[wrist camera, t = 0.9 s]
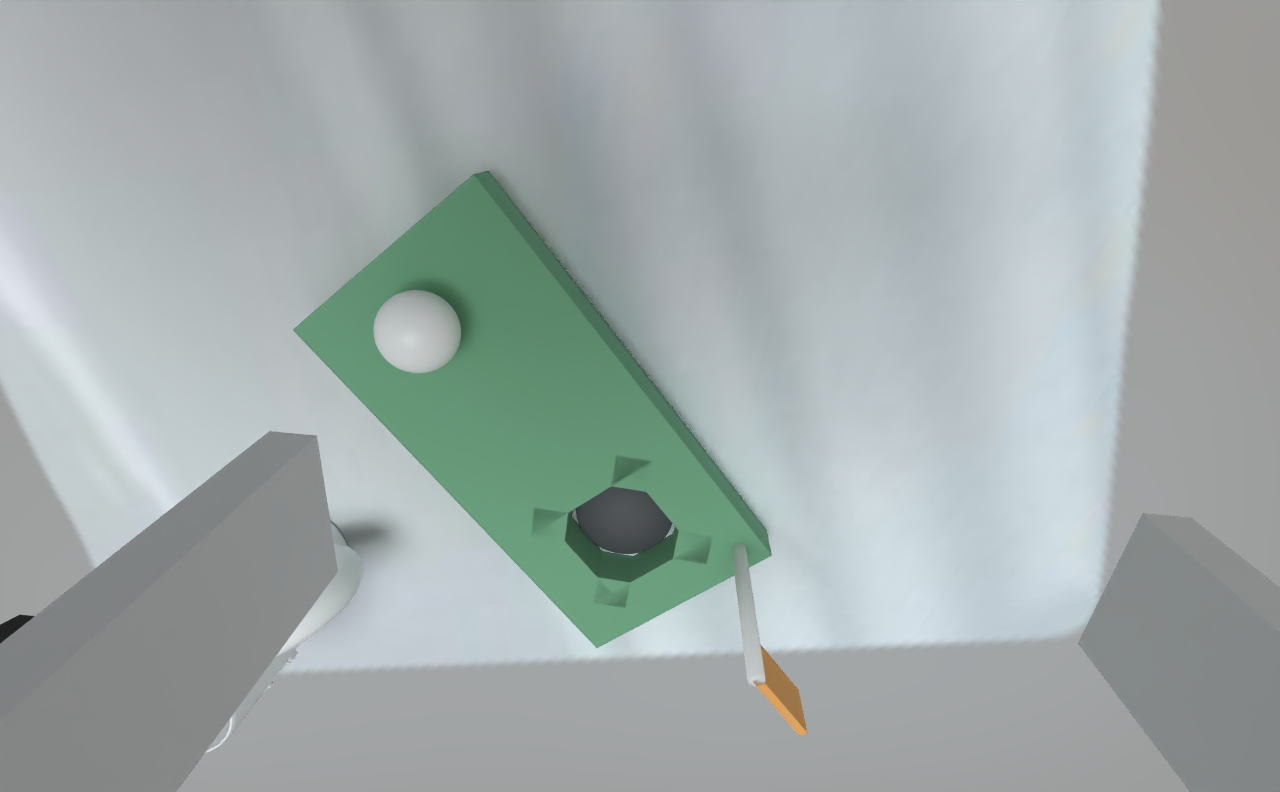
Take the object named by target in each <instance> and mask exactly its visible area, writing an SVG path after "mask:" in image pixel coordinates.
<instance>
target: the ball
mask: <svg viewBox="0 0 1280 792" xmlns="http://www.w3.org/2000/svg"><path fill="white" fill-rule="evenodd" d="M373 332H374V339H375V343H376V346H377V348H378V350H379V352H380V353H381V355H382V356H383V357H384V358H385V359H386V360H387V361H388V362H389V363H390V364H392V365H393V366H395V367H396V368H398V369H400V370H403V371H406V372H411V373H427V372H431V371H434V370H437V369H439V368H441V367H442V366H444V365H445V364H447V363H448V362H449V361H450V360H451V359H452V357H453V356H454V355H455V353H456V352H457V350H458V347H459V344H460V340H461V326H460V322H459V319H458V316H457V314H456V312H455V311H454V309H453V308H452V307H451V306H450V304H449V303H448V302H446V301H445V300H444V299H443V298H441V297H440V296H438V295H436V294H434V293H431V292H427V291H423V290H409V291H404V292H401V293H398V294H396V295H394V296H392V297H391V298H390V299H388V300H387V301H386V302H385V303H384V304H383V305H382V307H381V308H380V309H379V311H378V313H377V315H376V318H375V321H374V327H373Z"/></svg>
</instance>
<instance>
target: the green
mask: <svg viewBox="0 0 1280 792" xmlns="http://www.w3.org/2000/svg"><path fill="white" fill-rule="evenodd" d="M409 290H423V291H427V292H431V293H434V294H436V295H438V296H440V297H441V298H443V299H444V300H445V301H446V302H448V303H449V304H450V306H451V307H452V308H453V309H454V311H455V312H456V314H457V316H458V319H459V322H460V326H461V340H460V344H459V347H458V350H457V352H456V353H455V355H454V356H453V357H452V359H451V360H450V361H449V362H448V363H447V364H445V365H444V366H442V367H441V368H439V369H437V370H434V371H431V372H427V373H411V372H406V371H403V370H400V369H398V368H396V367H395V366H393V365H392V364H390V363H389V362H388V361H387V360H386V359H385V358H384V357H383V356H382V355H381V353H380V352H379V350H378V348H377V346H376V343H375V339H374V332H373V327H374V321H375V318H376V315H377V313H378V311H379V309H380V308H381V307H382V305H383V304H384V303H385V302H386V301H387V300H388V299H390V298H391V297H392V296H394V295H396V294H398V293H401V292H404V291H409ZM293 330H294V332H295V333H296V334H297V335H298V336H299V337H300V338H301V339H302V340H303V341H304V342H305V343H306V344H307V345H308V346H309V347H310V348H311V349H312V350H313V351H314V352H315V354H316V355H317V356H318V357H319V358H320V359H321V360H322V361H323V362H324V363H325V364H326V365H327V366H328V367H329V368H330V369H331V370H332V371H333V372H334V373H335V374H336V375H337V377H338V378H339V379H340V380H341V381H342V382H343V383H344V384H345V385H346V386H347V387H348V388H349V389H350V390H351V391H352V392H353V393H354V394H355V395H356V396H357V397H358V399H359V400H360V401H361V402H362V403H363V404H364V405H365V406H366V407H367V408H368V409H369V410H370V411H371V412H372V413H373V414H374V415H375V416H376V417H377V418H378V419H379V421H380V422H381V423H382V424H383V425H384V426H385V427H386V428H387V429H388V430H389V431H390V432H391V433H392V434H393V435H394V436H395V437H396V438H397V439H398V440H399V441H400V443H401V444H402V445H403V446H404V447H405V448H406V449H407V450H408V451H409V452H410V453H411V454H412V455H413V456H414V457H415V458H416V459H417V460H418V461H419V462H420V463H421V464H422V466H423V467H424V468H425V469H426V470H427V471H428V472H429V473H430V474H431V475H432V476H433V477H434V478H435V479H436V480H437V481H438V482H439V483H440V484H441V485H442V486H443V488H444V489H445V490H446V491H447V492H448V493H449V494H450V495H451V496H452V497H453V498H454V499H455V500H456V501H457V502H458V503H459V504H460V505H461V506H462V507H463V508H464V510H465V511H466V512H467V513H468V514H469V515H470V516H471V517H472V518H473V519H474V520H475V521H476V522H477V523H478V524H479V525H480V526H481V527H482V528H483V529H484V530H485V532H486V533H487V534H488V535H489V536H490V537H491V538H492V539H493V540H494V541H495V542H496V543H497V544H498V545H499V546H500V547H501V548H502V549H503V550H504V551H505V552H506V554H507V555H508V556H509V557H510V558H511V559H512V560H513V561H514V562H515V563H516V564H517V565H518V566H519V567H520V568H521V569H522V570H523V571H524V572H525V573H526V574H527V575H528V577H529V578H530V579H531V580H532V581H533V582H534V583H535V584H536V585H537V586H538V587H539V588H540V589H541V590H542V591H543V592H544V593H545V594H546V595H547V596H548V597H549V599H550V600H551V601H552V602H553V603H554V604H555V605H556V606H557V607H558V608H559V609H560V610H561V611H562V612H563V613H564V614H565V615H566V616H567V617H568V618H569V619H570V621H571V622H572V623H573V624H574V625H575V626H576V627H577V628H578V629H579V630H580V631H581V632H582V633H583V634H584V635H585V636H586V637H587V638H588V639H589V640H590V641H591V643H592V644H593V645H594V646H595V647H596V648H598V647H600V646H602V645H604V644H606V643H608V642H610V641H611V640H613V639H615V638H617V637H619V636H621V635H623V634H625V633H626V632H628V631H630V630H632V629H634V628H636V627H638V626H640V625H642V624H643V623H645V622H647V621H649V620H651V619H653V618H655V617H657V616H659V615H660V614H662V613H664V612H666V611H668V610H670V609H672V608H674V607H675V606H677V605H679V604H681V603H683V602H685V601H687V600H689V599H691V598H692V597H694V596H696V595H698V594H700V593H702V592H704V591H706V590H708V589H709V588H711V587H713V586H715V585H717V584H719V583H721V582H723V581H724V580H726V579H728V578H730V577H732V576H734V575H735V580H736V589H737V597H738V606H739V614H740V623H741V631H742V640H743V648H744V657H745V665H746V674H747V681H748V683H749V684H750V685H752V686H757V687H758V688H759V690H760V691H761V692H762V693H763V694H764V695H765V696H766V698H767V699H768V700H769V701H770V702H771V703H772V705H773V706H774V707H775V708H776V709H777V710H778V712H779V713H780V714H781V715H782V716H783V717H784V718H785V720H786V721H787V722H788V723H789V724H790V725H791V726H792V728H793V729H794V730H795V731H796V732H797V733H798V734H799V736H801V735H803V734H805V733H807V729H806V724H805V719H804V715H803V710H802V705H801V700H800V696H799V690H798V689H797V687H796V686H795V685H794V684H793V683H792V682H791V680H790V679H789V678H788V677H787V676H786V674H785V673H784V672H783V671H782V670H781V668H780V667H779V666H778V665H777V664H776V663H775V661H774V660H773V659H772V658H771V657H770V655H769V654H768V653H767V652H766V651H765V649H764V648H763V647H762V646H761V645H760V639H759V633H758V626H757V620H756V613H755V606H754V600H753V593H752V586H751V580H750V573H749V567H751V566H753V565H755V564H757V563H758V562H760V561H762V560H764V559H766V558H768V557H770V556H772V554H771V550H770V545H769V540H768V535H767V530H766V529H765V528H764V526H763V525H762V524H761V523H760V521H759V520H758V519H757V517H756V516H755V515H754V513H753V512H752V511H751V510H750V508H749V507H748V506H747V504H746V503H745V502H744V501H743V499H742V498H741V497H740V495H739V494H738V493H737V491H736V490H735V489H734V488H733V486H732V485H731V484H730V482H729V481H728V480H727V479H726V477H725V476H724V475H723V473H722V472H721V471H720V470H719V468H718V467H717V466H716V464H715V463H714V462H713V460H712V459H711V458H710V457H709V455H708V454H707V453H706V451H705V450H704V449H703V448H702V446H701V445H700V444H699V442H698V441H697V440H696V438H695V437H694V436H693V435H692V433H691V432H690V431H689V429H688V428H687V427H686V426H685V424H684V423H683V422H682V420H681V419H680V418H679V416H678V415H677V414H676V413H675V411H674V410H673V409H672V407H671V406H670V405H669V404H668V402H667V401H666V400H665V398H664V397H663V396H662V395H661V393H660V392H659V391H658V389H657V388H656V387H655V385H654V384H653V383H652V382H651V380H650V379H649V378H648V376H647V375H646V374H645V373H644V371H643V370H642V369H641V367H640V366H639V365H638V363H637V362H636V361H635V360H634V358H633V357H632V356H631V354H630V353H629V352H628V351H627V349H626V348H625V347H624V345H623V344H622V343H621V341H620V340H619V339H618V338H617V336H616V335H615V334H614V332H613V331H612V330H611V329H610V327H609V326H608V325H607V323H606V322H605V321H604V320H603V318H602V317H601V316H600V314H599V313H598V312H597V310H596V309H595V308H594V307H593V305H592V304H591V303H590V301H589V300H588V299H587V298H586V296H585V295H584V294H583V292H582V291H581V290H580V288H579V287H578V286H577V285H576V283H575V282H574V281H573V279H572V278H571V277H570V276H569V274H568V273H567V272H566V270H565V269H564V268H563V266H562V265H561V264H560V263H559V261H558V260H557V259H556V257H555V256H554V255H553V254H552V252H551V251H550V250H549V248H548V247H547V246H546V245H545V243H544V242H543V241H542V239H541V238H540V237H539V235H538V234H537V233H536V232H535V230H534V229H533V228H532V226H531V225H530V224H529V223H528V221H527V220H526V219H525V217H524V216H523V215H522V213H521V212H520V211H519V210H518V208H517V207H516V206H515V204H514V203H513V202H512V201H511V199H510V198H509V197H508V195H507V194H506V193H505V191H504V190H503V189H502V188H501V186H500V185H499V184H498V182H497V181H496V180H495V179H494V177H493V176H492V175H491V173H490V172H489V171H487V172H483V173H478V174H473V175H472V176H471V177H470V178H469V179H468V180H467V181H465V182H464V183H463V184H462V185H461V186H460V187H458V188H457V189H456V190H455V191H454V192H453V193H451V194H450V195H449V196H448V197H447V198H446V199H444V200H443V201H442V202H441V203H440V204H439V205H437V206H436V207H435V208H434V209H433V210H432V211H430V212H429V213H428V214H427V215H426V216H425V217H423V218H422V219H421V220H420V221H419V222H418V223H416V224H415V225H414V226H413V227H412V228H411V229H410V230H408V231H407V232H406V233H405V234H404V235H403V236H401V237H400V238H399V239H398V240H397V241H396V242H394V243H393V244H392V245H391V246H390V247H389V248H387V249H386V250H385V251H384V252H383V253H382V254H380V255H379V256H378V257H377V258H376V259H375V260H373V261H372V262H371V263H370V264H369V265H368V266H366V267H365V268H364V269H363V270H362V271H361V272H360V273H358V274H357V275H356V276H355V277H354V278H353V279H351V280H350V281H349V282H348V283H347V284H346V285H344V286H343V287H342V288H341V289H340V290H339V291H337V292H336V293H335V294H334V295H333V296H332V297H330V298H329V299H328V300H327V301H326V302H325V303H323V304H322V305H321V306H320V307H319V308H318V309H316V310H315V311H314V312H313V313H312V314H311V315H309V316H308V317H307V318H306V319H305V320H304V321H303V322H301V323H300V324H299V325H298V326H297V327H296V328H294V329H293ZM575 508H576V514H577V519H578V523H579V525H580V526H579V525H578V524H577V523H576V522H575V520H574V519H573V518H572V510H574V509H575ZM672 523H673V525H674V526H675V529H674V534H672V535H670V536H669V537H667V538H665V537H666V535H667V534H668V532H669V530H670V528H671V525H672ZM664 538H665V539H664ZM597 545H598V546H599V547H601V548H603V549H605V550H608V551H611V552H615V553H621V554H633V553H639V552H641V553H639V554H637V555H635V556H634V557H632V556H625V555H619V554H613V553H607V552H602V551H601V550H600V549H599V547H598V546H597Z"/></svg>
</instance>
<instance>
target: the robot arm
mask: <svg viewBox="0 0 1280 792" xmlns="http://www.w3.org/2000/svg"><path fill="white" fill-rule="evenodd" d="M337 572H338V568H337V562H336V555H335V549H334V543H333V536H332V530H331V523H330V517H329V511H328V504H327V498H326V492H325V485H324V479H323V472H322V466H321V460H320V453H319V447H318V441H317V436H314V435H304V434H293V433H282V432H272V431H269V432H268V433H267V434H266V435H264V436H263V437H262V438H260V439H259V440H258V441H257V442H255V443H254V444H253V445H252V446H250V447H249V448H248V449H247V450H245V451H244V452H243V453H241V454H240V455H239V456H238V457H236V458H235V459H234V460H233V461H231V462H230V463H229V464H227V465H226V466H225V467H224V468H222V469H221V470H220V471H219V472H217V473H216V474H215V475H214V476H212V477H211V478H210V479H208V480H207V481H206V482H205V483H203V484H202V485H201V486H200V487H198V488H197V489H196V490H194V491H193V492H192V493H191V494H189V495H188V496H187V497H186V498H184V499H183V500H182V501H181V502H179V503H178V504H177V505H175V506H174V507H173V508H172V509H170V510H169V511H168V512H167V513H165V514H164V515H163V516H161V517H160V518H159V519H158V520H156V521H155V522H154V523H153V524H151V525H150V526H149V527H148V528H146V529H145V530H144V531H142V532H141V533H140V534H139V535H137V536H136V537H135V538H134V539H132V540H131V541H130V542H129V543H127V544H126V545H125V546H123V547H122V548H121V549H120V550H118V551H117V552H116V553H115V554H113V555H112V556H111V557H109V558H108V559H107V560H106V561H104V562H103V563H102V564H101V565H99V566H98V567H97V568H96V569H94V570H93V571H92V572H90V573H89V574H88V575H87V576H85V577H84V578H83V579H82V580H80V581H79V582H78V583H77V584H75V585H74V586H73V587H71V588H70V589H69V590H68V591H66V592H65V593H64V594H63V595H61V596H60V597H59V598H58V599H56V600H55V601H54V602H52V603H51V604H50V605H49V606H47V607H46V608H45V609H43V610H42V611H41V612H40V613H39V614H37V615H36V616H27V615H18V616H16V617H15V618H12V619H11V620H9V621H7V622H5V623H3V624H1V625H0V792H177V790H178V789H179V788H180V786H181V785H182V783H183V782H184V781H185V779H186V778H187V777H188V775H189V774H190V773H191V771H192V770H193V768H194V767H195V766H196V764H197V763H198V762H199V760H200V759H201V757H202V756H203V755H204V753H205V752H206V751H207V749H208V748H209V747H210V745H211V744H212V743H213V741H214V740H215V739H216V737H217V736H218V734H219V733H220V732H221V730H222V729H223V728H224V726H225V725H226V724H227V722H228V721H229V719H230V718H231V717H232V715H233V714H234V713H235V711H236V710H237V709H238V707H239V706H240V704H241V703H242V702H243V700H244V699H245V698H246V696H247V695H248V694H249V692H250V691H251V689H252V688H253V687H254V685H255V684H256V683H257V681H258V680H259V679H260V677H261V676H262V674H263V673H264V672H265V670H266V669H267V668H268V666H269V665H270V664H271V662H272V661H273V659H274V658H275V657H276V655H277V654H278V653H279V651H280V650H281V649H282V647H283V646H284V644H285V643H286V642H287V640H288V639H289V638H290V636H291V635H292V634H293V632H294V631H295V630H296V628H297V627H298V625H299V624H300V623H301V621H302V620H303V619H304V617H305V616H306V615H307V613H308V612H309V610H310V609H311V608H312V606H313V605H314V604H315V602H316V601H317V600H318V598H319V597H320V595H321V594H322V593H323V591H324V590H325V589H326V587H327V586H328V585H329V583H330V582H331V580H332V579H333V578H334V576H335V575H336V574H337ZM1078 644H1079V645H1080V647H1081V648H1082V649H1083V651H1084V652H1085V653H1086V655H1087V656H1088V657H1089V659H1090V660H1091V661H1092V662H1093V664H1094V665H1095V667H1096V668H1097V669H1098V671H1099V672H1100V673H1101V675H1102V676H1103V677H1104V679H1105V680H1106V681H1107V682H1108V684H1109V685H1110V687H1111V688H1112V689H1113V690H1114V692H1115V693H1116V694H1117V696H1118V697H1119V698H1120V700H1121V701H1122V702H1123V704H1124V705H1125V706H1126V708H1127V709H1128V710H1129V712H1130V713H1131V714H1132V716H1133V717H1134V718H1135V719H1136V721H1137V722H1138V724H1139V725H1140V726H1141V728H1142V729H1143V730H1144V732H1145V733H1146V734H1147V735H1148V737H1149V738H1150V739H1151V741H1152V742H1153V744H1154V745H1155V746H1156V747H1157V749H1158V750H1159V751H1160V753H1161V754H1162V755H1163V757H1164V758H1165V759H1166V761H1167V762H1168V763H1169V765H1170V766H1171V767H1172V769H1173V770H1174V771H1175V773H1176V774H1177V775H1178V776H1179V778H1180V779H1181V781H1182V782H1183V783H1184V784H1185V786H1186V787H1187V788H1188V790H1189V791H1190V792H1280V587H1279V586H1278V585H1276V584H1275V583H1274V582H1272V581H1271V580H1270V579H1269V578H1268V577H1266V576H1265V575H1264V574H1262V573H1261V572H1260V571H1258V570H1257V569H1256V568H1255V567H1254V566H1252V565H1251V564H1250V563H1248V562H1247V561H1246V560H1244V559H1243V558H1242V557H1241V556H1240V555H1238V554H1237V553H1236V552H1235V551H1233V550H1232V549H1231V548H1229V547H1228V546H1227V545H1226V544H1224V543H1223V542H1222V541H1220V540H1219V539H1218V538H1217V537H1216V536H1214V535H1213V534H1212V533H1210V532H1209V531H1208V530H1207V529H1205V528H1204V527H1203V526H1201V525H1200V524H1199V523H1198V522H1196V521H1195V520H1194V519H1193V518H1188V517H1177V516H1167V515H1156V514H1146V513H1143V514H1142V515H1141V517H1140V519H1139V522H1138V524H1137V526H1136V528H1135V530H1134V532H1133V534H1132V536H1131V538H1130V540H1129V542H1128V544H1127V546H1126V548H1125V550H1124V552H1123V554H1122V556H1121V558H1120V560H1119V562H1118V564H1117V566H1116V568H1115V570H1114V572H1113V574H1112V576H1111V578H1110V580H1109V582H1108V584H1107V586H1106V588H1105V590H1104V592H1103V594H1102V596H1101V598H1100V600H1099V602H1098V604H1097V606H1096V608H1095V610H1094V612H1093V614H1092V616H1091V618H1090V620H1089V622H1088V624H1087V626H1086V628H1085V630H1084V632H1083V634H1082V637H1081V639H1080V640H1079V642H1078Z"/></svg>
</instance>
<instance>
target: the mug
mask: <svg viewBox="0 0 1280 792" xmlns="http://www.w3.org/2000/svg"><path fill="white" fill-rule="evenodd" d="M330 523H331V522H330ZM331 530H332V536H333V543H334V549H335V555H336V562H337V568H338V572H337V574H336V575H335V576H334V578H333V579H332V580H331V582H330V583H329V585H328V586H327V587H326V589H325V590H324V591H323V593H322V594H321V595H320V597H319V598H318V600H317V601H316V602H315V604H314V605H313V606H312V608H311V609H310V610H309V612H308V613H307V615H306V616H305V617H304V619H303V620H302V621H301V623H300V624H299V625H298V627H297V628H296V630H295V631H294V632H293V634H292V635H291V636H290V638H289V639H288V640H287V642H286V643H285V644H284V646H283V647H282V649H281V650H280V651H279V653H278V654H277V655H276V657H275V658H274V659H273V661H272V662H271V664H270V665H269V666H268V668H267V669H266V670H265V672H264V673H263V674H262V676H261V677H260V679H259V680H258V681H257V683H256V684H255V685H254V687H253V688H252V689H251V691H250V692H249V694H248V695H247V696H246V698H245V699H244V700H243V702H242V703H241V704H240V706H239V707H238V709H237V710H236V711H235V713H234V714H233V715H232V717H231V718H230V719H229V721H228V722H227V724H226V725H225V726H224V728H223V729H222V730H221V732H220V733H219V734H218V736H217V737H216V739H215V740H214V741H213V743H212V744H211V745H210V747H209V748H208V749H207V751H206V752H209V751H211V750H213V749H215V748H216V747H218V746H220V745H221V744H223V743H224V742H226V741H227V740H228V739H229V737H230V736H231V735H232V734H233V733H234V731H235V730H236V729H237V727H238V726H239V725H240V723H241V722H242V721H243V719H244V718H245V717H246V715H247V714H248V713H249V711H250V710H251V709H252V707H253V706H254V705H255V703H256V702H257V700H258V699H259V698H260V696H261V695H262V694H263V692H264V691H265V690H266V689H269V688H270V687H272V685H273V683H274V682H275V679H274V678H275V676H276V675H277V674H278V672H279V671H280V670H281V669H283V668H285V667H286V666H287V665H289V664H290V662H292V661H293V659H294V658H295V656H296V655H297V654H298V652H297V651H295V649H296V648H297V647H298V645H299V644H300V643H301V642H303V641H305V640H306V639H308V638H309V637H310V636H312V635H313V634H315V633H316V632H317V631H319V630H320V629H321V628H322V627H324V626H325V625H326V624H327V623H329V622H330V621H331V620H332V619H333V618H334V617H335V616H336V615H337V614H338V613H339V612H340V611H341V610H342V609H343V608H344V607H345V606H346V605H347V604H348V602H349V601H350V600H351V599H352V597H353V596H354V594H355V593H356V591H357V589H358V587H359V584H360V581H361V579H362V575H363V566H362V562H361V559H360V556H359V555H358V554H357V553H356V552H355V551H354V550H353V549H351V548H350V547H348V545H347V543H346V541H345V539H344V537H343V536H342V534H341V533H340V532H339V530H338V529H337V528H336V527H335V526H334V525H333V524H332V523H331ZM206 752H205V753H206Z"/></svg>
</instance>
